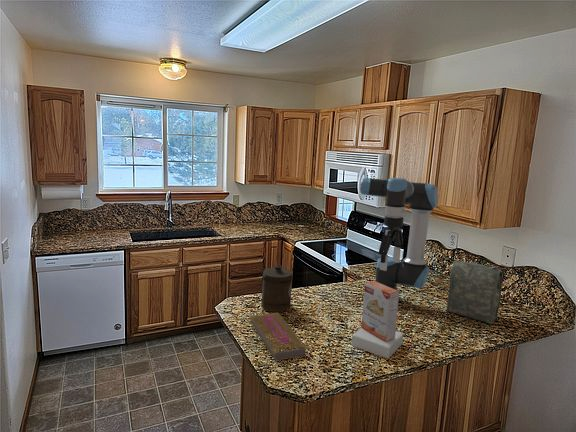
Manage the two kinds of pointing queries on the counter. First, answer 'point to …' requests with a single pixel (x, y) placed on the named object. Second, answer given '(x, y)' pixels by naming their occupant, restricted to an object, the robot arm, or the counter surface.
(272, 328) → the brown and pink box
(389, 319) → the cracker box
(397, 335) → the marble slab
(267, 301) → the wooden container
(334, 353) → the counter surface
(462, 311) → the bag
